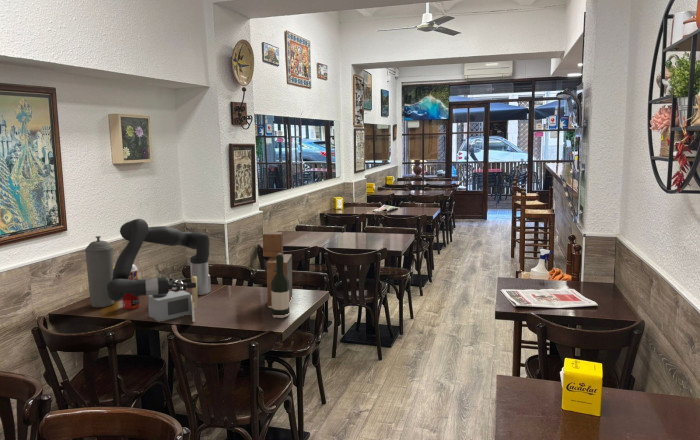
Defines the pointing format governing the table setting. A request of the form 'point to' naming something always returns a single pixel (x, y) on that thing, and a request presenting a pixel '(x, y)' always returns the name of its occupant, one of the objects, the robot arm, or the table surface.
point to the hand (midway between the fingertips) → (194, 282)
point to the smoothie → (133, 273)
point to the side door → (194, 297)
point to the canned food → (131, 301)
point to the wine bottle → (280, 289)
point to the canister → (99, 271)
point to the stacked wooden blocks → (271, 249)
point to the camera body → (169, 305)
